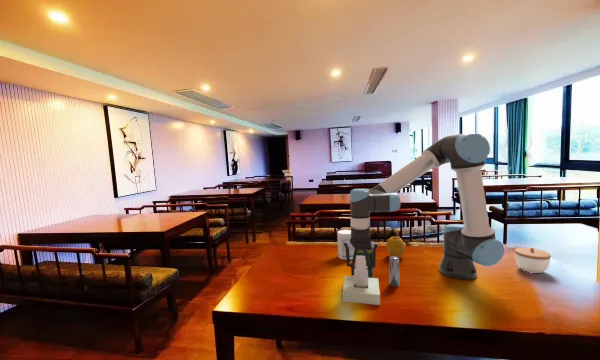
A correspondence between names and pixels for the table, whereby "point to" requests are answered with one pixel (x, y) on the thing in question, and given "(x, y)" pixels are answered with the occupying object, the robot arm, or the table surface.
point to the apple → (395, 246)
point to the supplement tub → (342, 237)
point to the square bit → (360, 271)
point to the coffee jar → (370, 251)
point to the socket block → (361, 291)
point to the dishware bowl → (532, 259)
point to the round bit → (394, 270)
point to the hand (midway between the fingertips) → (361, 283)
